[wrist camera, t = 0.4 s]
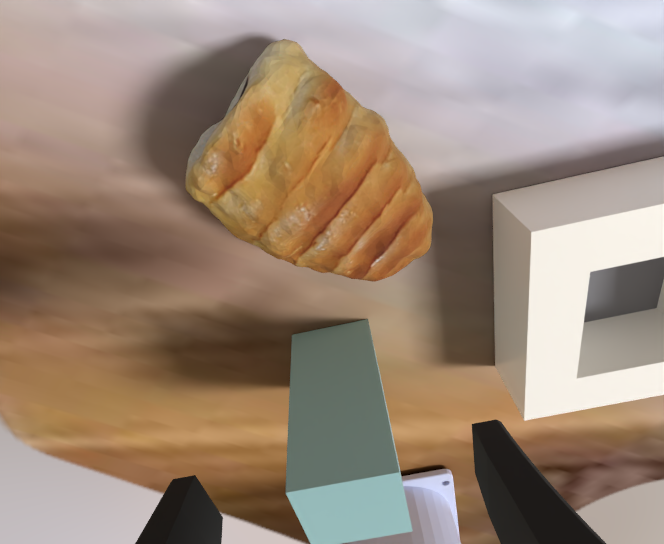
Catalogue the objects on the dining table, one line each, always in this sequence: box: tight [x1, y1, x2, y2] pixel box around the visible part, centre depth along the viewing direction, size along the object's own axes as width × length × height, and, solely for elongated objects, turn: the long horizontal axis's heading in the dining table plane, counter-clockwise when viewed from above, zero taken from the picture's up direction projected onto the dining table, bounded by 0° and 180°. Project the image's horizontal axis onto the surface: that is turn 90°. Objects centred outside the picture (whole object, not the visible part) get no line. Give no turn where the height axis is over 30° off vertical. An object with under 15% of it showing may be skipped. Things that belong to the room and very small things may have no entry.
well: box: [492, 156, 664, 420], centre depth 18 cm, size 10×10×4 cm
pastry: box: [185, 39, 433, 281], centre depth 15 cm, size 9×7×4 cm
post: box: [286, 319, 413, 544], centre depth 18 cm, size 4×4×8 cm
